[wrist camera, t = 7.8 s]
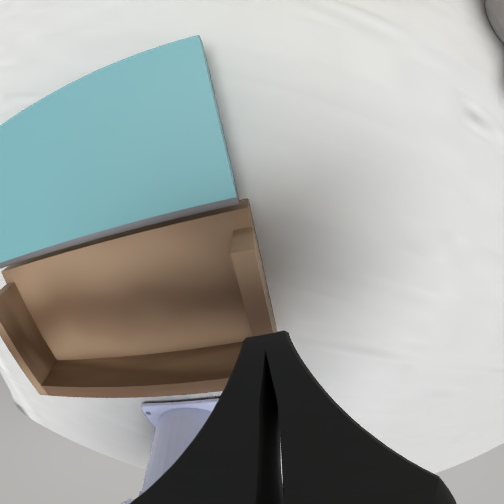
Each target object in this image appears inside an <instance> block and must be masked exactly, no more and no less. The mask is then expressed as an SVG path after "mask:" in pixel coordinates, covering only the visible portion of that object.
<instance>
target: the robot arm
mask: <svg viewBox="0 0 504 504" xmlns="http://www.w3.org/2000/svg"><path fill="white" fill-rule="evenodd" d="M141 410H142V411H143V413H144V414H145V416H146V417H147V418H148V420H149V421H150V422H151V424H152V425H153V427H154V428H155V429H156V430H155V434H154V438H153V443H152V447H151V452H150V456H149V461H148V465H147V470H146V475H145V480H144V484H143V489H142V491H140V493H139V497H137V498H136V499H135V500H133V499H128V500H127V501H125V502H123V503H121V504H456V501H455V499H454V497H453V496H452V494H451V492H450V491H449V489H448V488H447V486H446V485H445V484H444V482H443V481H442V480H441V479H440V477H439V476H437V475H435V474H433V473H431V472H429V471H427V470H425V469H423V468H421V467H420V466H418V465H416V464H414V463H413V462H411V461H409V460H407V459H406V458H404V457H403V456H401V455H399V454H398V453H396V452H395V451H393V450H392V449H390V448H389V447H387V446H386V445H385V444H383V443H382V442H381V441H379V440H378V439H377V438H375V437H374V436H373V435H371V434H370V433H369V432H367V431H366V430H365V429H364V428H362V427H361V426H360V425H359V424H358V423H357V422H356V421H354V420H353V419H352V418H351V417H350V416H349V415H348V414H347V413H346V412H345V411H344V410H343V409H342V408H341V407H340V406H339V405H338V404H337V403H336V402H335V401H334V400H333V399H332V398H331V397H330V396H329V395H328V393H327V392H326V391H325V390H324V389H323V388H322V386H321V385H320V384H319V383H318V381H317V380H316V379H315V378H314V376H313V375H312V374H311V372H310V371H309V369H308V368H307V367H306V365H305V364H304V362H303V361H302V359H301V358H300V356H299V354H298V353H297V351H296V349H295V347H294V345H293V343H292V341H291V339H290V336H289V333H288V332H286V331H280V332H275V333H270V334H264V335H259V336H253V337H248V338H245V340H244V341H243V343H242V347H241V350H240V353H239V356H238V358H237V361H236V364H235V366H234V369H233V371H232V373H231V375H230V378H229V380H228V382H227V384H226V386H225V388H224V390H223V392H222V394H221V396H220V398H216V399H207V400H196V401H183V402H167V403H144V404H142V405H141ZM280 439H281V454H280ZM281 455H282V475H283V484H282V476H281Z"/></svg>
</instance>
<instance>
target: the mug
mask: <svg viewBox="0 0 504 504" xmlns="http://www.w3.org/2000/svg"><path fill="white" fill-rule="evenodd" d="M485 9H486V13H487V16H488V19H489V22H490V24H491V26H492V28H493V30H494V31H495V33H496V34H497V36H498V37H499V39H500V40H501V41H502V42H503V43H504V0H485Z"/></svg>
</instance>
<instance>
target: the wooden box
mask: <svg viewBox="0 0 504 504" xmlns="http://www.w3.org/2000/svg"><path fill="white" fill-rule="evenodd" d="M2 274H3V276H4V279H5V281H6V283H7V285H5V286H4V287H3V288H2V289H1V290H0V336H1V338H2V339H3V341H4V343H5V344H6V346H7V348H8V349H9V351H10V352H11V354H12V355H13V357H14V359H15V360H16V362H17V363H18V365H19V366H20V368H21V369H22V370H23V372H24V373H25V375H26V376H27V378H28V379H29V380H30V382H31V383H32V385H33V386H34V387H35V389H36V390H37V391H38V393H39V394H40V395H51V396H67V397H95V398H127V397H156V396H173V395H186V394H197V393H207V392H216V391H223V390H224V388H225V386H226V384H227V382H228V380H229V378H230V375H231V373H232V371H233V369H234V366H235V364H236V361H237V358H238V356H239V353H240V350H241V347H242V343H243V341H244V340H245V338H248V337H253V336H259V335H264V334H270V333H275V332H277V330H276V325H275V320H274V316H273V311H272V306H271V302H270V297H269V292H268V288H267V283H266V279H265V274H264V269H263V265H262V260H261V256H260V251H259V247H258V242H257V237H256V233H255V228H254V224H253V219H252V215H251V210H250V206H249V201H248V199H244V200H239V204H238V205H233V206H229V207H224V208H219V209H215V210H211V211H206V212H202V213H198V214H193V215H189V216H185V217H181V218H176V219H172V220H168V221H164V222H160V223H156V224H152V225H148V226H144V227H140V228H136V229H133V230H129V231H125V232H121V233H117V234H114V235H110V236H106V237H103V238H99V239H95V240H92V241H88V242H85V243H81V244H78V245H74V246H71V247H67V248H64V249H61V250H57V251H54V252H51V253H47V254H44V255H41V256H37V257H34V258H31V259H28V260H25V261H22V262H18V263H15V264H12V265H10V266H8V267H7V268H6V269H4V270H3V271H2Z"/></svg>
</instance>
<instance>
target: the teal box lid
mask: <svg viewBox="0 0 504 504" xmlns="http://www.w3.org/2000/svg"><path fill="white" fill-rule="evenodd" d="M238 204H239V200H238V195H237V190H236V185H235V181H234V177H233V172H232V168H231V164H230V159H229V155H228V151H227V146H226V142H225V138H224V134H223V129H222V125H221V121H220V116H219V112H218V108H217V103H216V99H215V95H214V90H213V86H212V82H211V77H210V73H209V69H208V64H207V60H206V56H205V52H204V47H203V43H202V40H201V38H200V36H199V35H197V36H193V37H189V38H186V39H182V40H179V41H175V42H172V43H169V44H166V45H162V46H159V47H156V48H153V49H150V50H147V51H145V52H142V53H139V54H136V55H134V56H131V57H128V58H126V59H123V60H121V61H118V62H116V63H113V64H111V65H109V66H106V67H104V68H102V69H99V70H97V71H95V72H93V73H91V74H89V75H86V76H84V77H82V78H80V79H78V80H76V81H74V82H72V83H70V84H68V85H66V86H64V87H62V88H61V89H59V90H57V91H55V92H53V93H51V94H50V95H48V96H46V97H44V98H43V99H41V100H39V101H38V102H36V103H34V104H33V105H31V106H29V107H28V108H26V109H25V110H23V111H21V112H20V113H18V114H17V115H15V116H14V117H12V118H11V119H9V120H8V121H6V122H5V123H3V124H2V125H1V126H0V268H3V267H6V266H9V265H12V264H15V263H18V262H22V261H25V260H28V259H31V258H34V257H37V256H41V255H44V254H47V253H51V252H54V251H57V250H61V249H64V248H67V247H71V246H74V245H78V244H81V243H85V242H88V241H92V240H95V239H99V238H103V237H106V236H110V235H114V234H117V233H121V232H125V231H129V230H133V229H136V228H140V227H144V226H148V225H152V224H156V223H160V222H164V221H168V220H172V219H176V218H181V217H185V216H189V215H193V214H198V213H202V212H206V211H211V210H215V209H219V208H224V207H229V206H233V205H238Z"/></svg>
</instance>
